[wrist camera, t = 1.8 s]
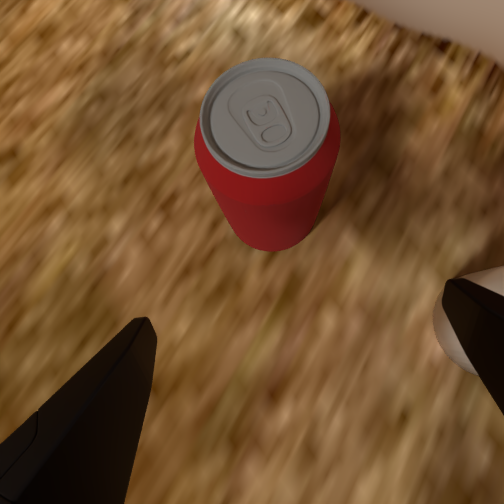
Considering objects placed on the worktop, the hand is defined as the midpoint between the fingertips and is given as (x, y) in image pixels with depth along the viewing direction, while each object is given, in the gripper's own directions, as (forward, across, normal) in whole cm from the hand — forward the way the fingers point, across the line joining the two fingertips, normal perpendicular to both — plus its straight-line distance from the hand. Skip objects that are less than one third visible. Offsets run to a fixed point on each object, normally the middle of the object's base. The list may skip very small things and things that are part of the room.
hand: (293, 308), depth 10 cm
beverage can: (+15, 0, +4) cm, 16 cm away
